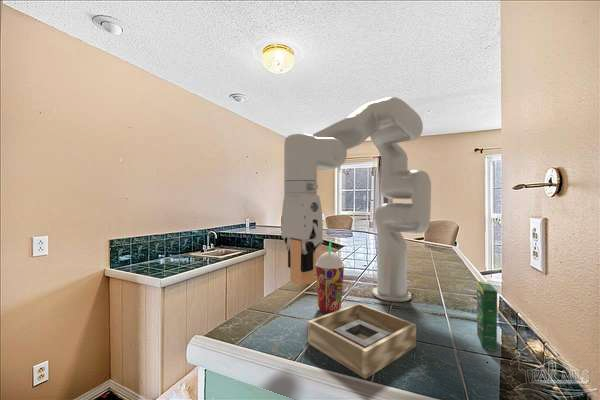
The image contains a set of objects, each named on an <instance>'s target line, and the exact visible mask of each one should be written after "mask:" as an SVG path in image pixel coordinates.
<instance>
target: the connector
mask: <svg viewBox="0 0 600 400" xmlns="http://www.w3.org/2000/svg"><path fill="white" fill-rule="evenodd" d="M308 245H309V242H307V246H308ZM301 254H303V250H302V242H301V240H299V239H294V238H293V239H290V269H289V270H290V273H289V274H290V275H289V277H290V280H289V281H290V282H291V283H293V284H295V285H298V286H300V287H302V286H306V285H309V284H312V283H315V282H316V281H315V280H316V262H315V259H316V257H315V253H313V270H312V271H307V272H301Z"/></svg>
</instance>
